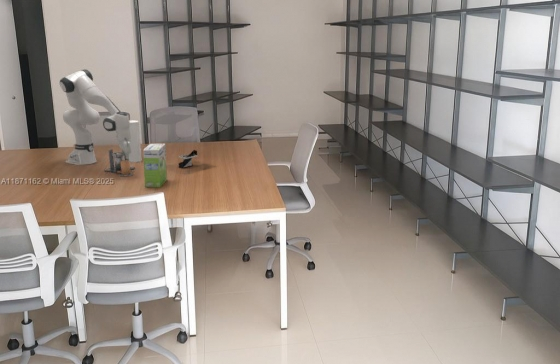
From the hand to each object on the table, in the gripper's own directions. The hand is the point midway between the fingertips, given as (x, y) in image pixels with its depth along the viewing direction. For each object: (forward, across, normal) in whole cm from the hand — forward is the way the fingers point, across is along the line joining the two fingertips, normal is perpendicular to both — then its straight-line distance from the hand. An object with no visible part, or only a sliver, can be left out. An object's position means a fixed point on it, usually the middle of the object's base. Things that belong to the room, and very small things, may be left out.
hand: (125, 157), depth 353 cm
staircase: (+13, -1, -42) cm, 44 cm away
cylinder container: (+13, +36, -13) cm, 40 cm away
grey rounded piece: (+12, -1, +1) cm, 12 cm away
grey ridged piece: (+12, +13, +2) cm, 18 cm away
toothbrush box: (+12, -30, -12) cm, 35 cm away
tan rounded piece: (+12, -1, +1) cm, 12 cm away
